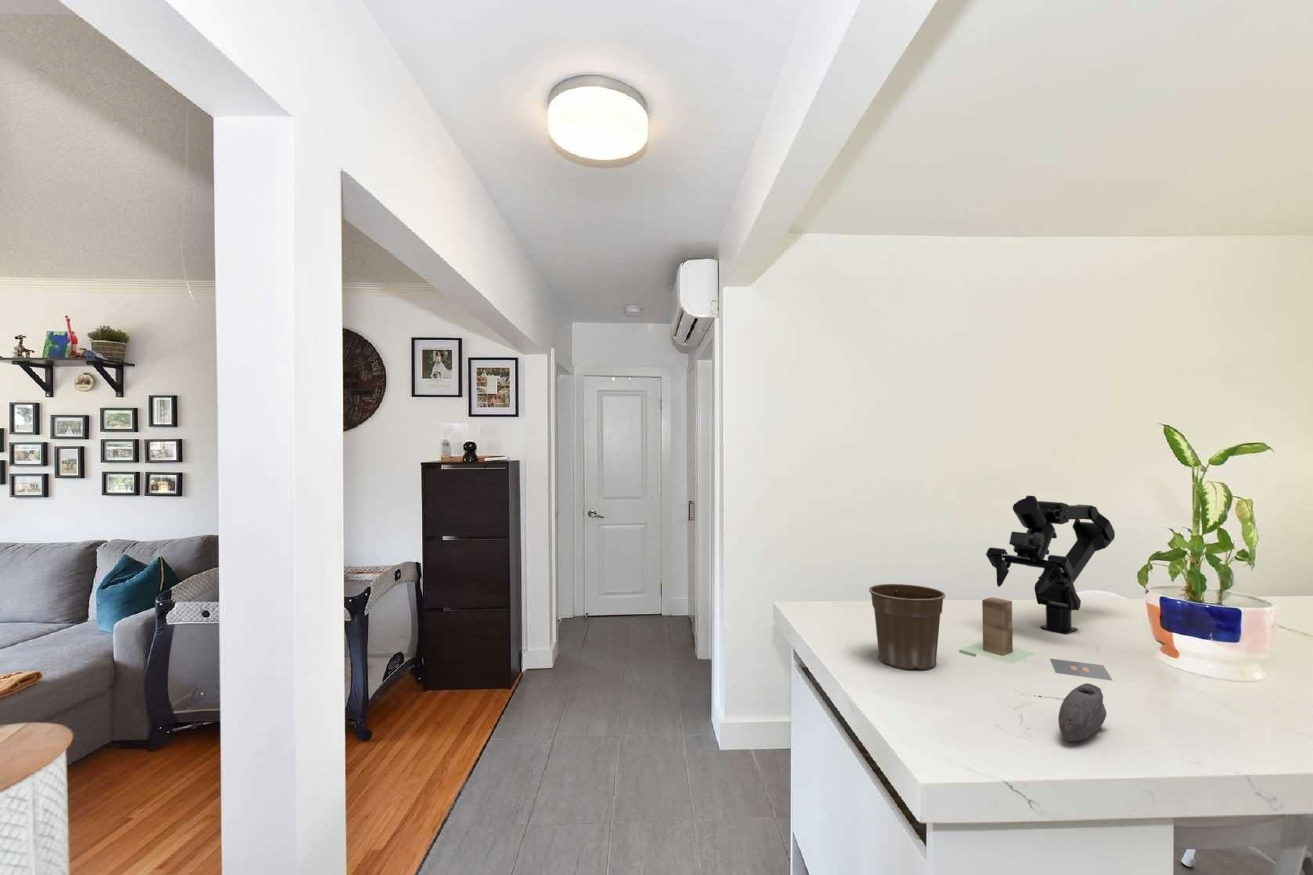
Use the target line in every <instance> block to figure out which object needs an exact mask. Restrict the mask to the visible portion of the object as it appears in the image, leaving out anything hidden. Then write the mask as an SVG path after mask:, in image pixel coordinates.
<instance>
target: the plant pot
mask: <svg viewBox="0 0 1313 875" xmlns="http://www.w3.org/2000/svg"><path fill="white" fill-rule="evenodd" d="M868 590H869V593H870V596H871V601H872V602H871V605H872V607H873V610H874V619H875V621H874V622H875V628H876V640H877V650H878V658H879V659H880V660H881V662H882V663H884V664H886V665H888V666H891V667H894V668H899V669H903V670H905V669H906V670H913V669H915V668H917V670H920V671H923V670H930V669H932V668H934V667H935V666H936V665H937V656H938V645H939V644H938V643H939V633H940V621H941V614H942V613H943V603H944V599H945V598H946V593H945V592H943V591H941V590H940V589H937V588H933V587H929V586H924V585H923V586H922V585H916V584H915V585H913V584H903V583H902V584H901V583H885V584H883V583H881V584H875V585H872V586H870V587H868Z"/></svg>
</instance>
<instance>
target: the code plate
mask: <svg viewBox="0 0 1313 875" xmlns="http://www.w3.org/2000/svg"><path fill="white" fill-rule="evenodd" d="M1049 660H1050V663H1051V665H1052V667H1053V668H1052V669H1053V671H1054V672H1055V674H1059V675H1061V674H1062V675H1066V676H1067V675H1068V676H1075V677H1083V678H1091V679H1097V680H1105V681H1114V679H1113V678H1112V676H1111V675H1110V673H1109V672H1108V670H1107V669H1106V668H1105V666H1104V665H1103V664H1096V663H1087V662H1080V661H1073V660H1066V659H1064V660H1063V659H1057V658H1056V659H1055V658H1049Z"/></svg>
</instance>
